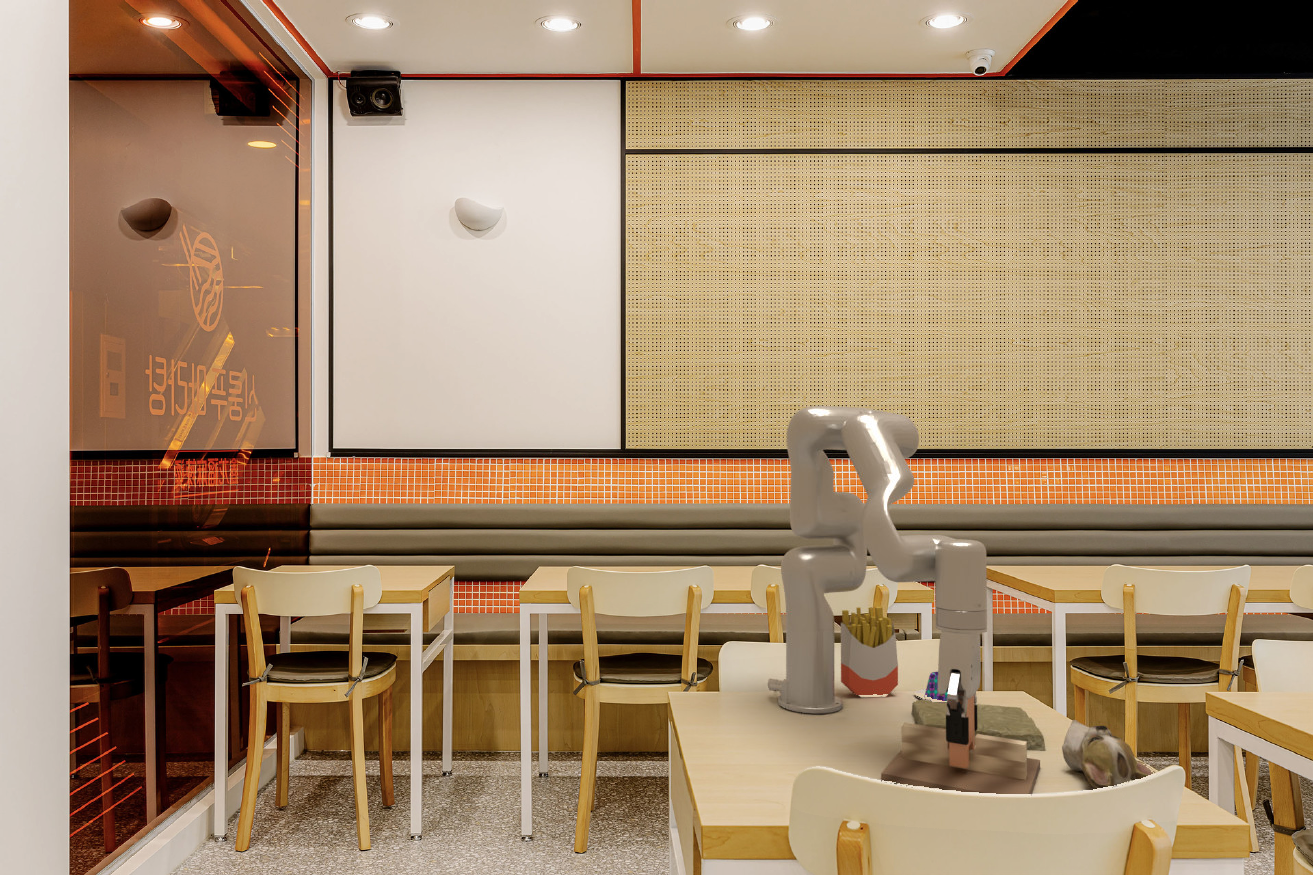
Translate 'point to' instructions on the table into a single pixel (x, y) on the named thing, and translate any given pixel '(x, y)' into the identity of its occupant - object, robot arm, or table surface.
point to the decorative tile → (985, 721)
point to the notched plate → (960, 751)
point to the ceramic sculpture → (1101, 756)
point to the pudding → (933, 688)
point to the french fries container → (868, 653)
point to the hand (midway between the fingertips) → (962, 734)
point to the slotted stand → (989, 768)
